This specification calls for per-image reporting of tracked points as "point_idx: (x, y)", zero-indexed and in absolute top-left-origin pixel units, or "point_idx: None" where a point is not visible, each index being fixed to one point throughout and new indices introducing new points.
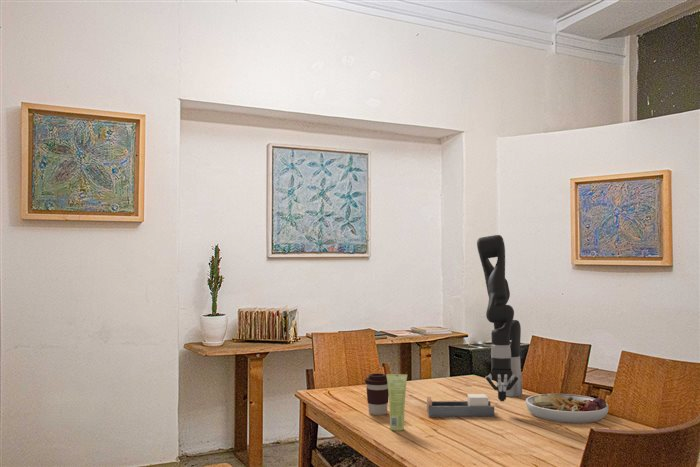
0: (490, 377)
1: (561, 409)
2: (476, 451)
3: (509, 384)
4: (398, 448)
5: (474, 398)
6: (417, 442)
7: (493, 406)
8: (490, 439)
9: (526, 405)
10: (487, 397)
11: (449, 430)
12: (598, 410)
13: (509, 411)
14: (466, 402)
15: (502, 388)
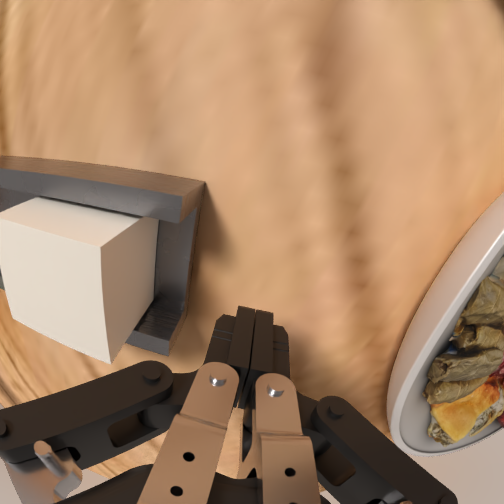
0: (54, 488)
1: (440, 435)
2: (105, 466)
3: (351, 449)
4: (4, 404)
5: (35, 326)
6: (14, 400)
7: (164, 351)
8: (131, 454)
9: (430, 304)
10: (107, 359)
11: (38, 379)
12: (496, 432)
13: (342, 212)
14: (30, 191)
15: (252, 410)
